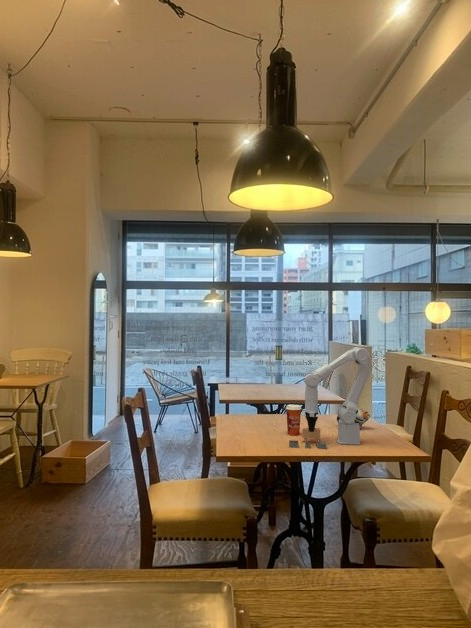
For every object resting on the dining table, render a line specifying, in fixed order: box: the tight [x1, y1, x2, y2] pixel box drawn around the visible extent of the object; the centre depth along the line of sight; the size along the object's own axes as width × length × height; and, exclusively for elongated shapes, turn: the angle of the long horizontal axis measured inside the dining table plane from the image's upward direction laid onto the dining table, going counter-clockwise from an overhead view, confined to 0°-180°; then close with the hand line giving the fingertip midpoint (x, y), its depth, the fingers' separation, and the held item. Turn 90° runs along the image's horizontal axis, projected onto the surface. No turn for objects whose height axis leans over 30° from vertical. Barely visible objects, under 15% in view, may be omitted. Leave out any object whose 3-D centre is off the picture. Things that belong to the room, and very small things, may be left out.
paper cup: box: [285, 404, 303, 437], centre depth 213 cm, size 8×8×14 cm
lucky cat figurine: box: [336, 406, 371, 427], centre depth 228 cm, size 15×12×14 cm
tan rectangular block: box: [301, 427, 321, 443], centre depth 198 cm, size 8×3×6 cm, turn 82°
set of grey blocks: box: [288, 439, 327, 450], centre depth 190 cm, size 16×4×2 cm, turn 82°
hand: (311, 429), depth 199 cm, fingers open, 7 cm apart
